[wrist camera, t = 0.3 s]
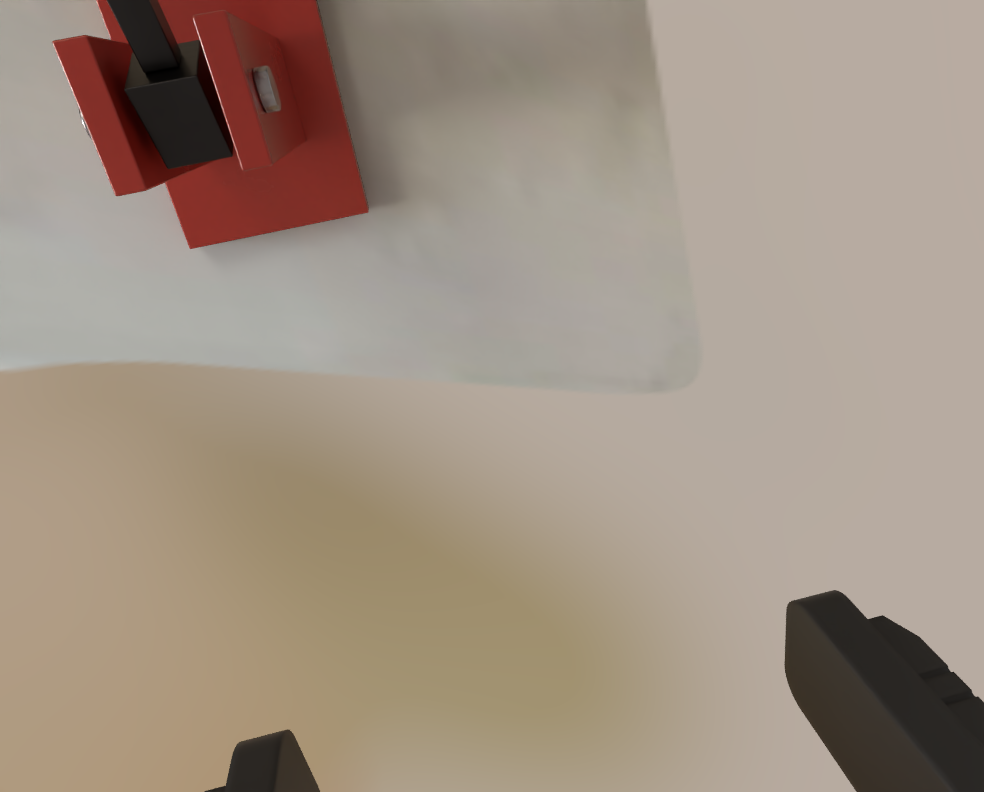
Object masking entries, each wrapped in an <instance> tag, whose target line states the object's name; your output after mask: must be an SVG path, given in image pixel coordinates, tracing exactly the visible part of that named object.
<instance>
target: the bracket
mask: <svg viewBox="0 0 984 792" xmlns="http://www.w3.org/2000/svg"><path fill="white" fill-rule="evenodd" d="M96 1H97V4H98V7H99V9H100V12H101V15H102V17H103V20H104V23H105V25H106V28H107V31H108V33H109V36H110V39H111V40H108V39H103V38H98V37H92V36H87V35H82V36H77V37H71V38H66V39H60V40H55V41H53V46H54V48H55V50H56V53H57V55H58V58H59V60H60V63H61V65H62V67H63V70H64V72H65V75H66V77H67V80H68V82H69V84H70V87H71V89H72V92H73V94H74V96H75V99H76V101H77V104H78V106H79V113H80V117H81V120H82V123H83V125H84V127H85V129H86V131H87V133H88V135H89V136H90V138H91V139H92V140H93V143H94V145H95V147H96V150H97V152H98V155H99V157H100V159H101V162H102V164H103V167H104V169H105V172H106V174H107V176H108V179H109V181H110V184H111V186H112V189H113V191H114V193H115V195H116V196H122V195H127V194H132V193H137V192H142V191H146V190H149V189H151V188H153V187H156V186H158V185H160V184H163V183H165V184H166V187H167V190H168V192H169V195H170V197H171V200H172V203H173V205H174V208H175V211H176V213H177V216H178V219H179V221H180V224H181V227H182V229H183V232H184V235H185V237H186V240H187V242H188V245H189V248H190V249H193V248H198V247H203V246H208V245H212V244H217V243H222V242H227V241H232V240H237V239H242V238H246V237H251V236H256V235H261V234H266V233H271V232H276V231H280V230H285V229H290V228H295V227H300V226H305V225H310V224H314V223H319V222H324V221H329V220H334V219H339V218H344V217H348V216H353V215H358V214H363V213H368V211H369V207H368V203H367V199H366V195H365V191H364V187H363V183H362V179H361V175H360V171H359V167H358V163H357V159H356V155H355V151H354V147H353V143H352V139H351V135H350V131H349V127H348V123H347V119H346V115H345V111H344V107H343V103H342V99H341V95H340V91H339V87H338V83H337V79H336V75H335V71H334V67H333V63H332V59H331V55H330V51H329V47H328V43H327V39H326V35H325V31H324V27H323V23H322V19H321V15H320V11H319V7H318V3H317V0H158V2H159V4H160V6H161V9H162V11H163V13H164V15H165V17H166V20H167V22H168V24H169V26H170V28H171V31H172V33H173V35H174V37H175V39H176V42H177V44H179V43H184V42H190V41H195V40H200V43H201V46H202V49H203V52H204V55H205V58H206V61H207V64H208V68H209V71H210V74H211V77H212V80H213V83H214V86H215V89H216V92H217V95H218V98H219V101H220V104H221V107H222V111H223V114H224V117H225V120H226V123H227V126H228V129H229V132H230V135H231V138H232V141H233V156H232V157H228V158H223V159H218V160H213V161H208V162H203V163H198V164H193V165H188V166H182V167H177V168H172V169H167V167H166V165H165V163H164V162H163V160H162V158H161V156H160V154H159V152H158V151H157V149H156V147H155V145H154V143H153V142H152V140H151V138H150V136H149V134H148V132H147V131H146V129H145V127H144V125H143V123H142V122H141V120H140V118H139V116H138V114H137V112H136V111H135V109H134V107H133V105H132V103H131V101H130V100H129V98H128V96H127V94H126V92H125V91H124V88H125V83H126V79H127V74H128V69H129V65H130V60H131V55H132V52H133V51H132V49H131V47H130V45H129V43H128V41H127V39H126V37H125V35H124V33H123V31H122V29H121V27H120V25H119V23H118V21H117V20H116V18H115V16H114V14H113V12H112V10H111V8H110V6H109V4H108V2H107V0H96Z"/></svg>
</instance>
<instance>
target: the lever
mask: <svg viewBox="0 0 984 792" xmlns="http://www.w3.org/2000/svg"><path fill="white" fill-rule="evenodd" d="M107 2H108V4H109V6H110V8H111V10H112V12H113V14H114V16H115V18H116V20H117V21H118V23H119V25H120V27H121V29H122V31H123V33H124V35H125V37H126V39H127V41H128V43H129V45H130V47H131V49H132V51H133V52H132V55H131V60H130V65H129V69H128V74H127V79H126V83H125V88H124V91H125V92H126V94H127V96H128V98H129V100H130V101H131V103H132V105H133V107H134V109H135V111H136V112H137V114H138V116H139V118H140V120H141V122H142V123H143V125H144V127H145V129H146V131H147V132H148V134H149V136H150V138H151V140H152V142H153V143H154V145H155V147H156V149H157V151H158V152H159V154H160V156H161V158H162V160H163V162H164V163H165V165H166V167H167V169H172V168H177V167H182V166H188V165H193V164H198V163H203V162H208V161H213V160H218V159H223V158H228V157H232V156H233V141H232V138H231V135H230V132H229V129H228V126H227V123H226V120H225V117H224V114H223V111H222V107H221V104H220V101H219V98H218V95H217V92H216V89H215V86H214V83H213V80H212V77H211V74H210V71H209V68H208V64H207V61H206V58H205V55H204V52H203V49H202V46H201V43H200V40H195V41H190V42H184V43H179V44H177V42H176V39H175V37H174V35H173V33H172V31H171V28H170V26H169V24H168V22H167V20H166V17H165V15H164V13H163V11H162V9H161V6H160V4H159V2H158V0H107Z"/></svg>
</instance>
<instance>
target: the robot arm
mask: <svg viewBox="0 0 984 792" xmlns="http://www.w3.org/2000/svg"><path fill="white" fill-rule="evenodd" d="M785 673H786V677H787V681H788V684H789V687H790V689H791V692H792V694H793V696H794V698H795V700H796V702H797V704H798V706H799V707H800V709H801V710H802V712H803V713H804V715H805V716H806V718H807V719H808V721H809V722H810V724H811V725H812V727H813V728H814V730H815V731H816V732H817V734H818V735H819V737H820V738H821V740H822V741H823V743H824V744H825V746H826V747H827V749H828V750H829V752H830V753H831V755H832V756H833V758H834V759H835V760H836V762H837V763H838V765H839V766H840V768H841V769H842V771H843V772H844V774H845V775H846V777H847V778H848V780H849V781H850V783H851V784H852V786H853V787H854V789H855V790H856V791H857V792H984V702H983V701H982V700H981V699H980V698H979V697H975V696H974V695H973V693H972V690H971V689H970V688H969V687H968V686H967V685H966V684H965V683H964V682H963V681H962V680H961V679H960V678H959V677H958V676H957V675H956V674H955V673H954V672H950V671H949V669H948V666H947V665H946V663H944V662H943V660H942V659H941V658H940V657H938V655H937V654H936V653H935V652H934V651H933V650H932V649H931V648H930V647H929V646H928V645H927V644H926V643H925V642H924V641H923V640H922V639H921V638H920V637H919V636H917V635H915V634H914V633H912V632H910V631H908V630H907V629H905V628H903V627H902V626H900V625H898V624H896V623H894V622H893V621H891V620H890V619H888V618H886V617H885V616H879V617H875V618H871V619H867V618H866V617H865V616H864V615H863V614H862V613H861V612H860V611H859V609H858V608H857V607H856V606H855V605H854V604H853V603H852V602H851V601H850V600H849V599H848V598H847V597H846V596H845V595H844V594H843V593H841V592H839V591H836V590H833V591H829V592H825V593H821V594H817V595H813V596H810V597H806V598H802V599H798V600H794V601H791V602H789V604H788V606H787V612H786V643H785ZM205 792H320V790H319V788H318V785H317V783H316V781H315V779H314V777H313V775H312V772H311V770H310V768H309V766H308V764H307V762H306V760H305V758H304V756H303V753H302V751H301V749H300V747H299V745H298V743H297V741H296V738H295V736H294V735H293V733H292V732H291V731H290V730H284V731H280V732H276V733H272V734H268V735H265V736H261V737H257V738H253V739H249V740H246V741H241V742H239V743H238V744H237V746H236V747H235V749H234V752H233V756H232V759H231V764H230V769H229V773H228V778H227V783H226V786H223V787H219V788H215V789H212V790H208V791H205Z"/></svg>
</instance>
